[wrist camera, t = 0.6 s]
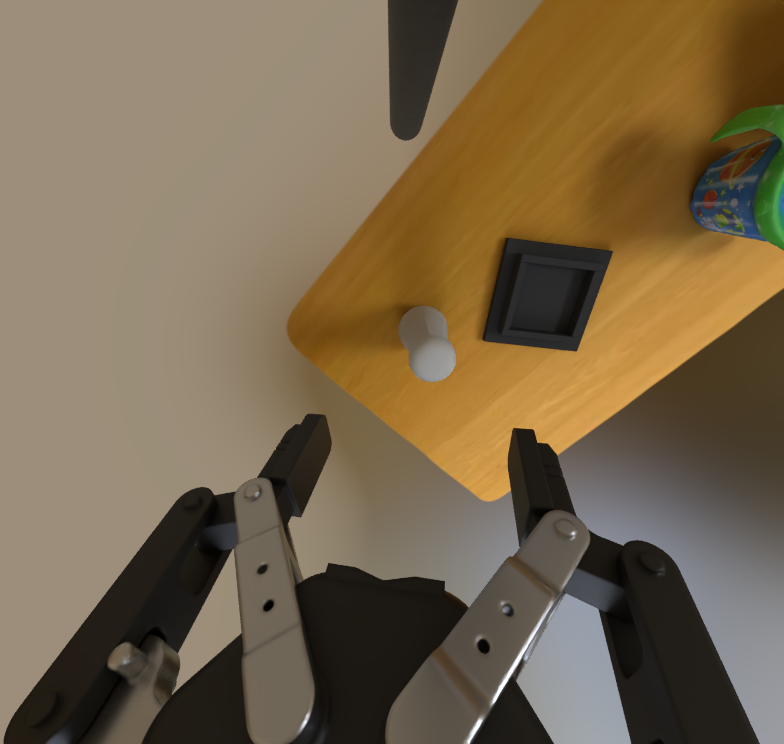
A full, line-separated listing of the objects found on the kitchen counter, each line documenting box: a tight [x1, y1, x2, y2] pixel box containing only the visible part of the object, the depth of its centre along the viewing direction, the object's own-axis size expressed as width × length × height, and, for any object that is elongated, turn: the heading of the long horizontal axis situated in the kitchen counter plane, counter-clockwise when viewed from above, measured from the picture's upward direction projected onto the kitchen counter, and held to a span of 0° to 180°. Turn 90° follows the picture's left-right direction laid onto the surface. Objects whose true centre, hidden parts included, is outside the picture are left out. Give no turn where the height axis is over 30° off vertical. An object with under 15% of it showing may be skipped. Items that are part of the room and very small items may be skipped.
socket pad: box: [483, 238, 613, 351], centre depth 38 cm, size 12×12×2 cm
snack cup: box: [690, 105, 784, 250], centre depth 30 cm, size 16×10×10 cm
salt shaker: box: [398, 305, 456, 382], centre depth 35 cm, size 6×6×13 cm
